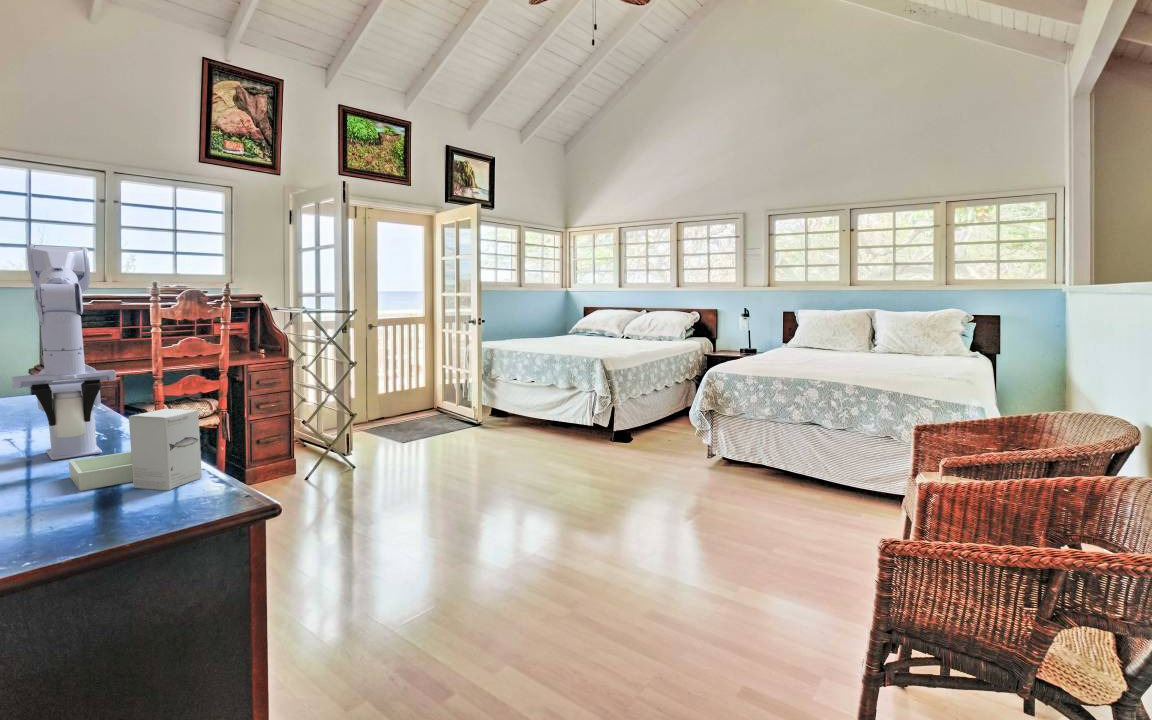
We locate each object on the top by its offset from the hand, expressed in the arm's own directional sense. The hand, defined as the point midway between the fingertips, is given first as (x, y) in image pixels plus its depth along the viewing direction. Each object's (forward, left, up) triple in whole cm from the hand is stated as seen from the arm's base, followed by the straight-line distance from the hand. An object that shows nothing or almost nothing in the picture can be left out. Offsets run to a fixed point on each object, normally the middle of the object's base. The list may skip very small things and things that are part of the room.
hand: (69, 422), depth 113 cm
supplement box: (+21, +10, -9) cm, 25 cm away
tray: (+10, +4, -9) cm, 14 cm away
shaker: (0, 0, -2) cm, 2 cm away
